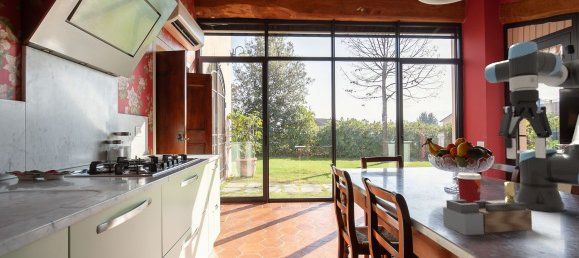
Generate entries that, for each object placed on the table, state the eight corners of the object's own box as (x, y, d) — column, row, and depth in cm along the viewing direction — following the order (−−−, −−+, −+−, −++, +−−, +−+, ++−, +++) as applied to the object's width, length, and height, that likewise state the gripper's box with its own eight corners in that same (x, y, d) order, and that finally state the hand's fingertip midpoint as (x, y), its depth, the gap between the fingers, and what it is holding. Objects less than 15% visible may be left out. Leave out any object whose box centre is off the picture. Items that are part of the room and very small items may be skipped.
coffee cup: (487, 217, 107) (486, 175, 108) (462, 216, 109) (460, 175, 109) (477, 211, 116) (476, 172, 116) (454, 211, 117) (453, 172, 118)
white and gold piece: (510, 205, 98) (509, 181, 99) (518, 207, 96) (517, 183, 96) (485, 206, 97) (484, 182, 97) (493, 209, 94) (492, 184, 94)
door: (509, 222, 101) (508, 198, 101) (532, 229, 93) (531, 203, 93) (466, 225, 99) (465, 200, 99) (485, 232, 91) (484, 206, 91)
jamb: (460, 224, 100) (459, 198, 100) (483, 234, 90) (482, 205, 90) (443, 225, 99) (442, 199, 99) (465, 235, 89) (464, 206, 89)
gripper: (502, 88, 93) (504, 159, 93) (565, 88, 96) (568, 158, 96) (483, 91, 101) (485, 158, 100) (542, 92, 104) (545, 156, 103)
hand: (526, 158), depth 98 cm, fingers open, 10 cm apart
